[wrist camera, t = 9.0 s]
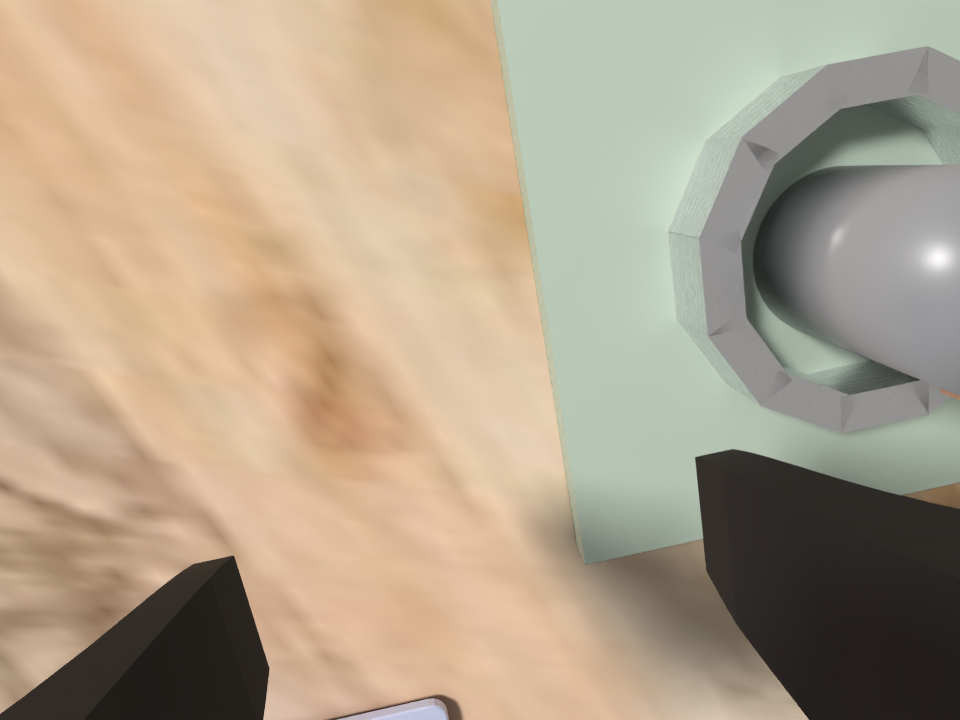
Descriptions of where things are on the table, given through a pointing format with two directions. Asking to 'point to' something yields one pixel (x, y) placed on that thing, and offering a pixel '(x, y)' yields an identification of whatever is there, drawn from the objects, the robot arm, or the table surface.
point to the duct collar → (730, 205)
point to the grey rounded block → (870, 264)
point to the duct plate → (645, 245)
